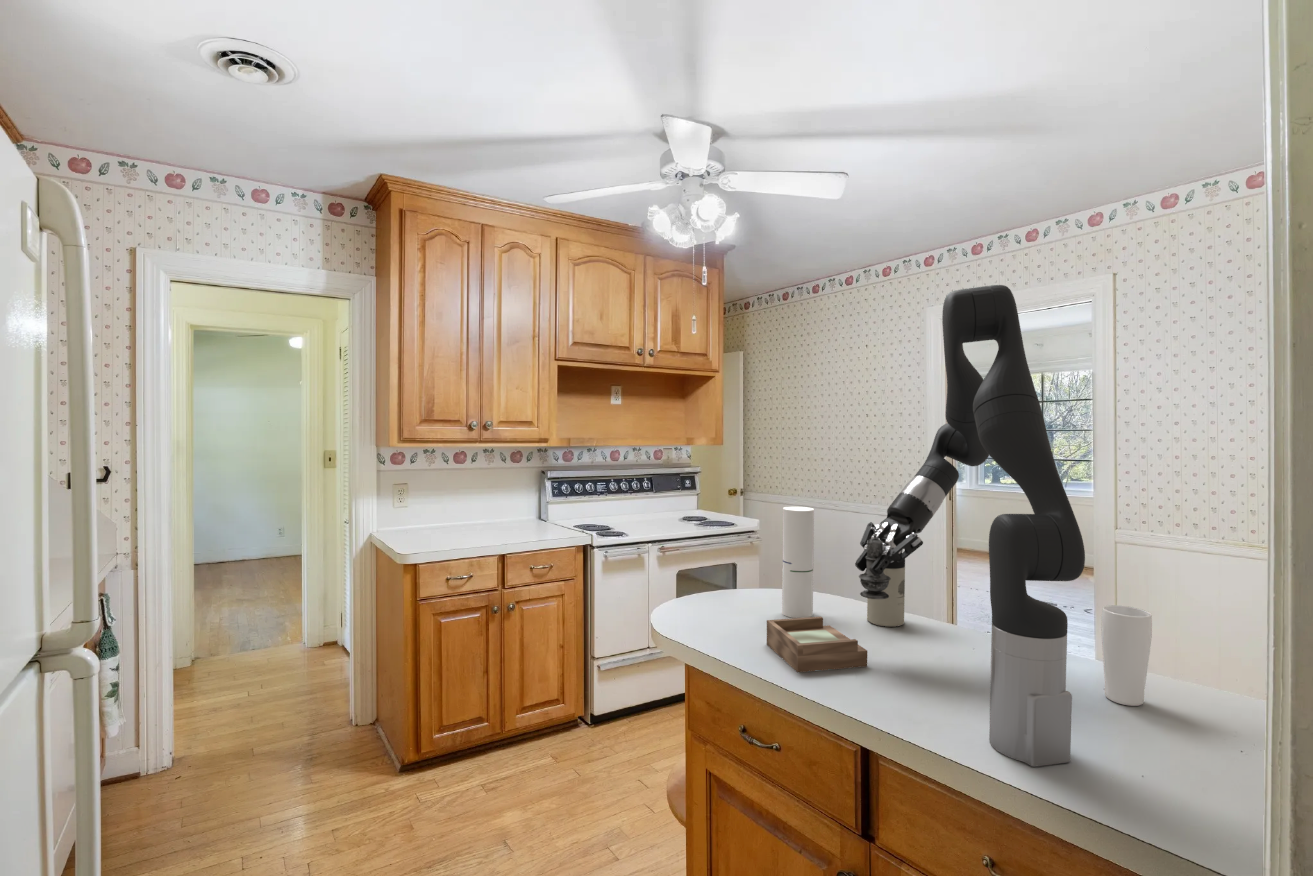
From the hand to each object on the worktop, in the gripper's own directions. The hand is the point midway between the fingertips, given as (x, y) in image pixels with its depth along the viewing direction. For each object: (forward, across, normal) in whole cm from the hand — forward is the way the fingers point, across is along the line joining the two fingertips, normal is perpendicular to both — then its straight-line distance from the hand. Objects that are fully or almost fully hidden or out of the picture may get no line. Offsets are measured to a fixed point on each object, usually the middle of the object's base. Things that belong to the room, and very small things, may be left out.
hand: (866, 570), depth 125 cm
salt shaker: (+2, 0, +5) cm, 6 cm away
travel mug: (-1, -16, +26) cm, 31 cm away
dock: (+18, -5, +6) cm, 20 cm away
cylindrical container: (+10, -29, +15) cm, 34 cm away
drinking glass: (-7, +30, +32) cm, 45 cm away
